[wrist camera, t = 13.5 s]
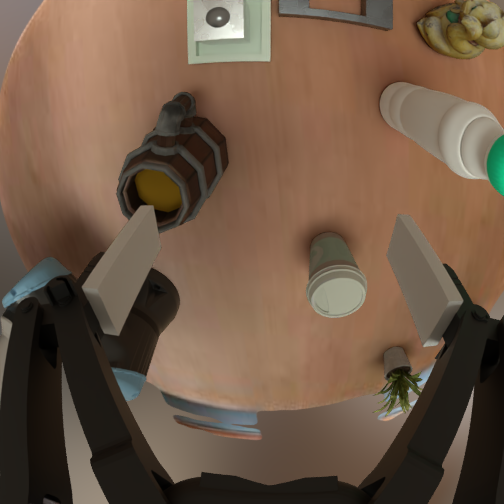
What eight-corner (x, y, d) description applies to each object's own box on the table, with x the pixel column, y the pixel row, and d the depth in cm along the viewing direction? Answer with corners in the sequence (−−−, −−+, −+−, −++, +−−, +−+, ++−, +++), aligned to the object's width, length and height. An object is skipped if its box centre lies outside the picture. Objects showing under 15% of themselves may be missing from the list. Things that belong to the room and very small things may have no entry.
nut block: (210, 45, 30) (193, 41, 24) (209, 11, 27) (192, -1, 21) (250, 43, 30) (243, 37, 23) (249, 8, 27) (242, -6, 20)
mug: (221, 197, 44) (199, 259, 32) (145, 182, 43) (100, 235, 31) (244, 95, 35) (226, 112, 23) (157, 81, 34) (100, 96, 22)
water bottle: (398, 71, 30) (530, 105, 10) (431, 106, 32) (558, 175, 12) (367, 106, 34) (475, 174, 14) (402, 139, 36) (510, 235, 16)
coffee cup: (312, 218, 45) (321, 268, 35) (361, 232, 46) (380, 282, 36) (294, 261, 50) (297, 314, 40) (340, 272, 51) (352, 324, 41)
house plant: (350, 358, 66) (358, 418, 52) (395, 327, 58) (413, 390, 45) (383, 372, 70) (393, 426, 57) (424, 346, 63) (441, 401, 49)
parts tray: (192, 64, 32) (188, 64, 31) (191, -3, 27) (187, -6, 25) (270, 61, 32) (270, 61, 30) (270, -7, 26) (270, -11, 24)
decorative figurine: (444, -4, 21) (509, -15, 9) (476, 42, 25) (544, 51, 12) (404, 23, 26) (464, 13, 14) (439, 70, 29) (505, 85, 17)
